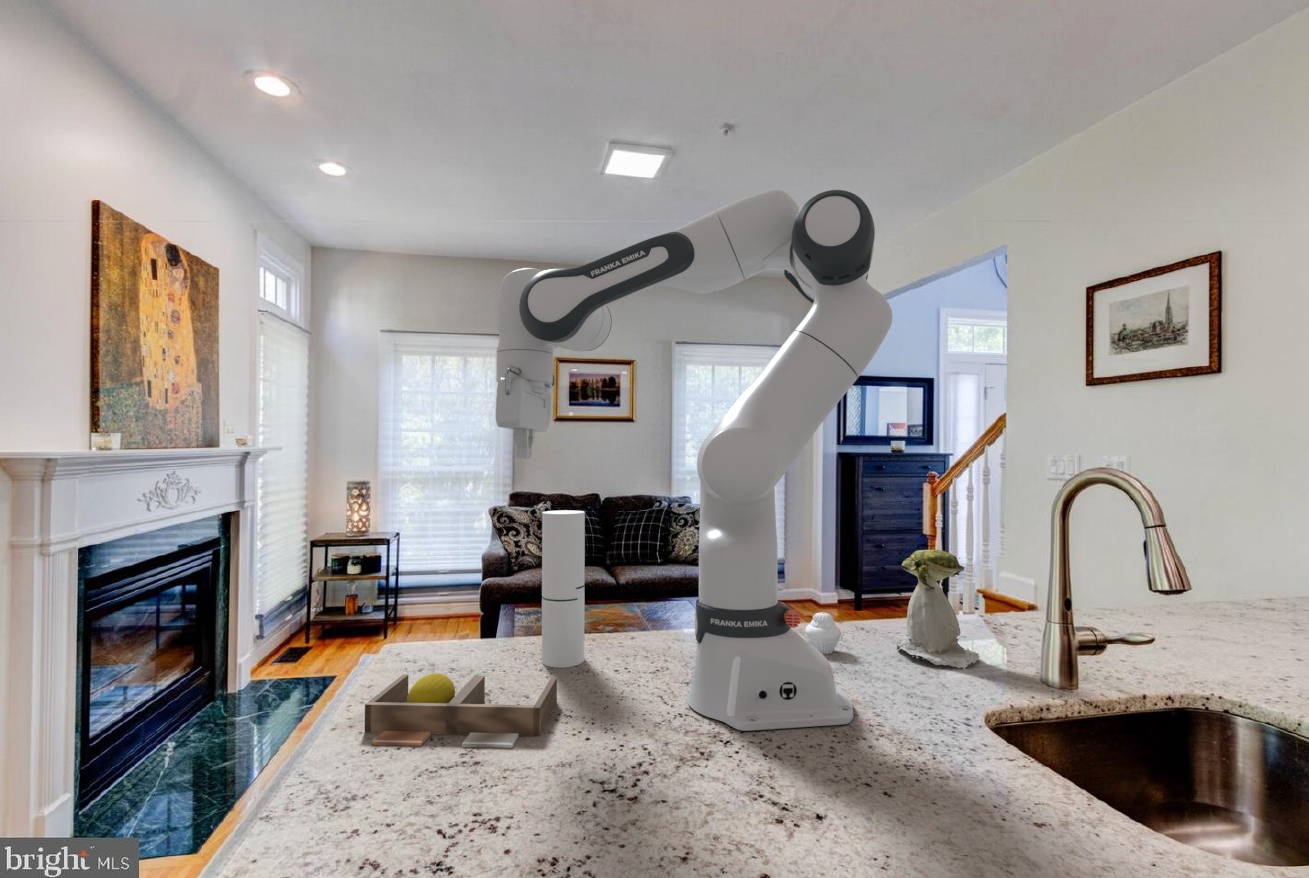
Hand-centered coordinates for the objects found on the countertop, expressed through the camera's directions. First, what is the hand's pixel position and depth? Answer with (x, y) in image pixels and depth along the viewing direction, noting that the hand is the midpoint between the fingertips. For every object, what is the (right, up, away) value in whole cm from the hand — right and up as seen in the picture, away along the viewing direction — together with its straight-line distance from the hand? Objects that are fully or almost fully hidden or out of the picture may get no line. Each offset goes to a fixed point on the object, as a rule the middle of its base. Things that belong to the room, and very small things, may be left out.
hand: (524, 458), depth 101 cm
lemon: (-8, -31, -13) cm, 35 cm away
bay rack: (-4, -34, -19) cm, 39 cm away
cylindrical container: (+5, -35, +6) cm, 35 cm away
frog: (+70, -35, +8) cm, 78 cm away
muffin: (+51, -35, +11) cm, 62 cm away
